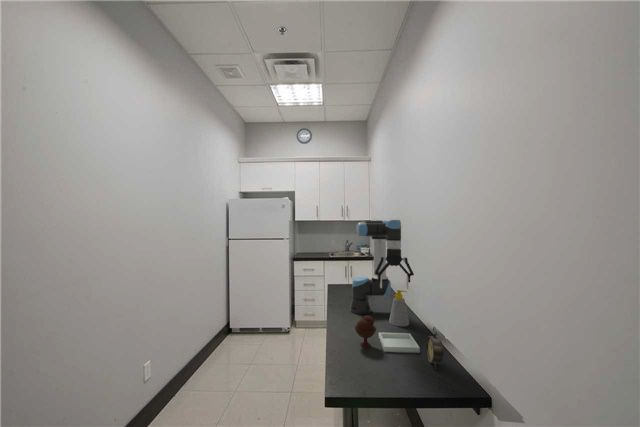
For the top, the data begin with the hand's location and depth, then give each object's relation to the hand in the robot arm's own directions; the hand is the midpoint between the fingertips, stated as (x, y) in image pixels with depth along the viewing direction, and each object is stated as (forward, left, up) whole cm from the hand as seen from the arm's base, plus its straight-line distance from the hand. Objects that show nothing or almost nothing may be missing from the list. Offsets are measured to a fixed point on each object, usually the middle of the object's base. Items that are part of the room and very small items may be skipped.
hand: (394, 288), depth 144 cm
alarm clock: (+23, +13, -28) cm, 39 cm away
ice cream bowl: (+6, -16, -28) cm, 33 cm away
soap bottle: (-27, +9, -28) cm, 40 cm away
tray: (+4, +1, -28) cm, 28 cm away
